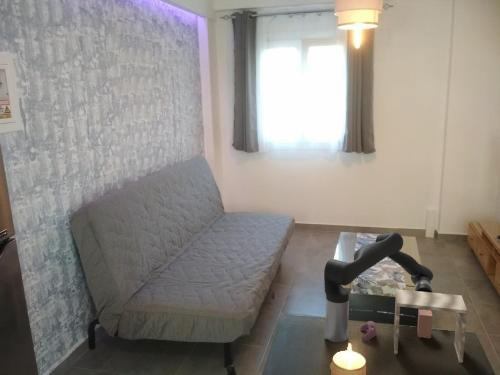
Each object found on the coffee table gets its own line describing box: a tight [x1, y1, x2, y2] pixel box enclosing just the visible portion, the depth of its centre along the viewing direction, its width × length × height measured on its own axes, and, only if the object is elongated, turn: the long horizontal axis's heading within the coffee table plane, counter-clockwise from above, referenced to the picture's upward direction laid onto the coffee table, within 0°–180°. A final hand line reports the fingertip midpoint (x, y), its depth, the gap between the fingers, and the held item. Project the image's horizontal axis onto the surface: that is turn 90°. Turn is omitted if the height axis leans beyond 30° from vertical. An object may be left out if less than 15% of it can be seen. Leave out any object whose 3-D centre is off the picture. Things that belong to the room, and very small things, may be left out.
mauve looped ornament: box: [359, 320, 377, 342], centre depth 188 cm, size 10×5×7 cm, turn 171°
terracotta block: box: [416, 308, 434, 339], centre depth 188 cm, size 5×5×10 cm
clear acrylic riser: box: [393, 288, 468, 364], centre depth 176 cm, size 24×13×21 cm, turn 74°
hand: (425, 306), depth 195 cm, fingers open, 8 cm apart
